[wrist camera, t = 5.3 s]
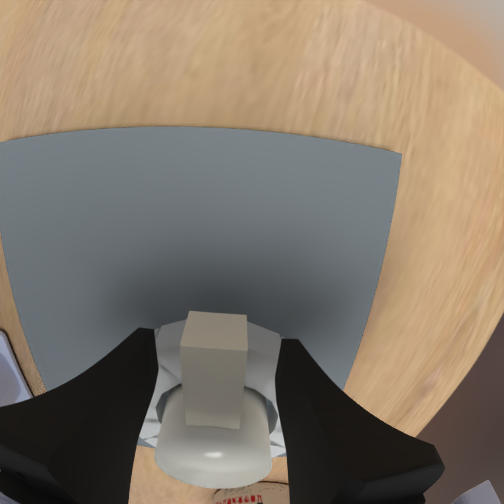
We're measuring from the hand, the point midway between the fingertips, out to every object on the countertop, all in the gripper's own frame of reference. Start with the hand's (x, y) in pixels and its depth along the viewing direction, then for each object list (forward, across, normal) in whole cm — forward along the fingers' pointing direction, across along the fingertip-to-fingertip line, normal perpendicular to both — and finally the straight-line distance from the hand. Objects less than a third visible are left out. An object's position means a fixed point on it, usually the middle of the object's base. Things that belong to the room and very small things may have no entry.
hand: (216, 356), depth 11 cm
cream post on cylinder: (+3, 0, +3) cm, 4 cm away
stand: (+4, +2, +2) cm, 5 cm away
